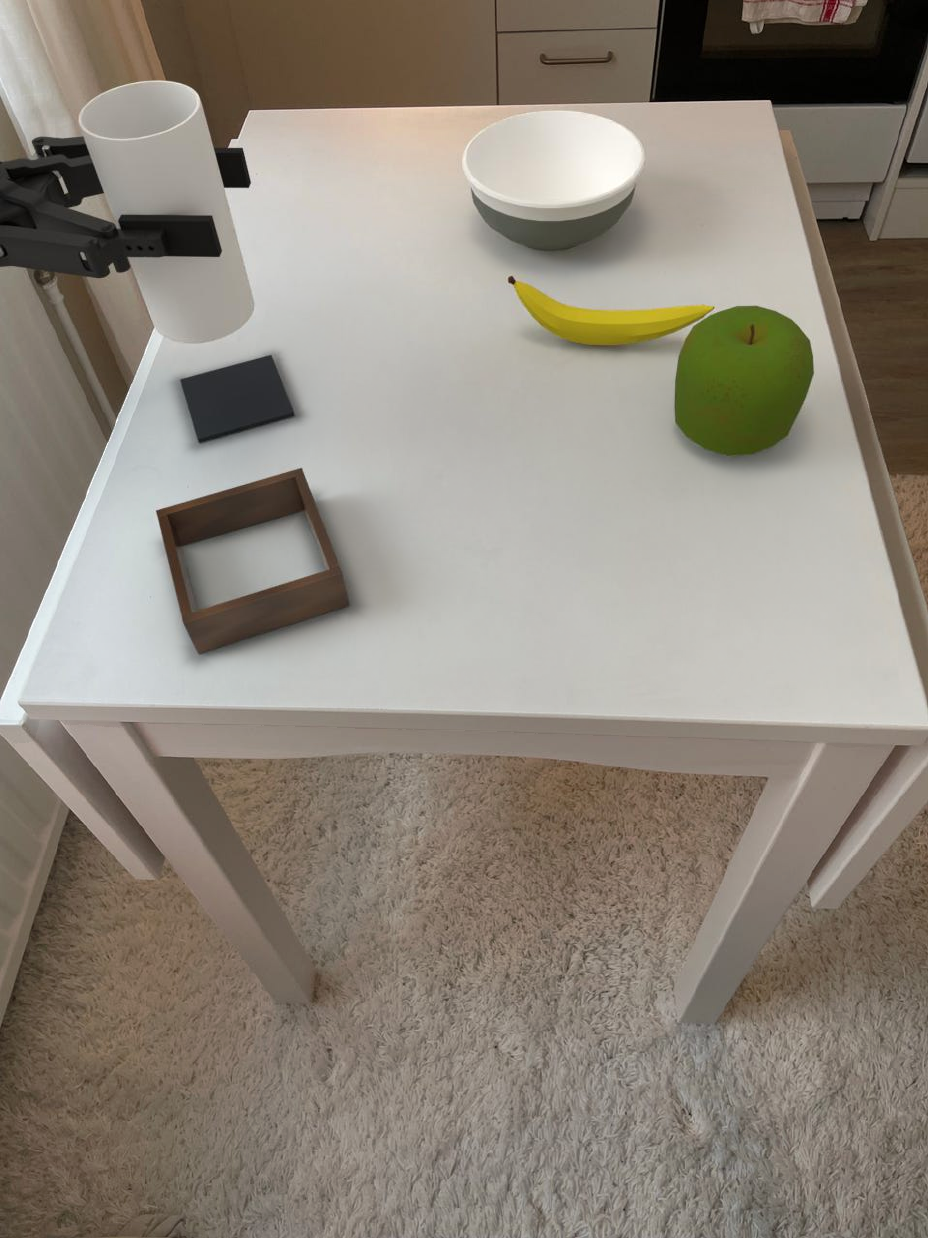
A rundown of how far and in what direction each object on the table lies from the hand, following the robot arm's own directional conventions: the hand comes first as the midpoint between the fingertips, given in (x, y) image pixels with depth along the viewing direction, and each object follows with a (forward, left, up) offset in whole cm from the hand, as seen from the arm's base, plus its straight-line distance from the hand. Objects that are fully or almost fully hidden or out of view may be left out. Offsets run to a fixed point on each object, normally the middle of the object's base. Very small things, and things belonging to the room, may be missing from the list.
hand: (231, 200), depth 69 cm
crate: (-7, -15, -22) cm, 28 cm away
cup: (-4, +2, -10) cm, 11 cm away
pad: (-4, +6, -22) cm, 23 cm away
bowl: (+34, +20, -22) cm, 46 cm away
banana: (+31, 0, -22) cm, 38 cm away
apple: (+36, -15, -22) cm, 45 cm away
